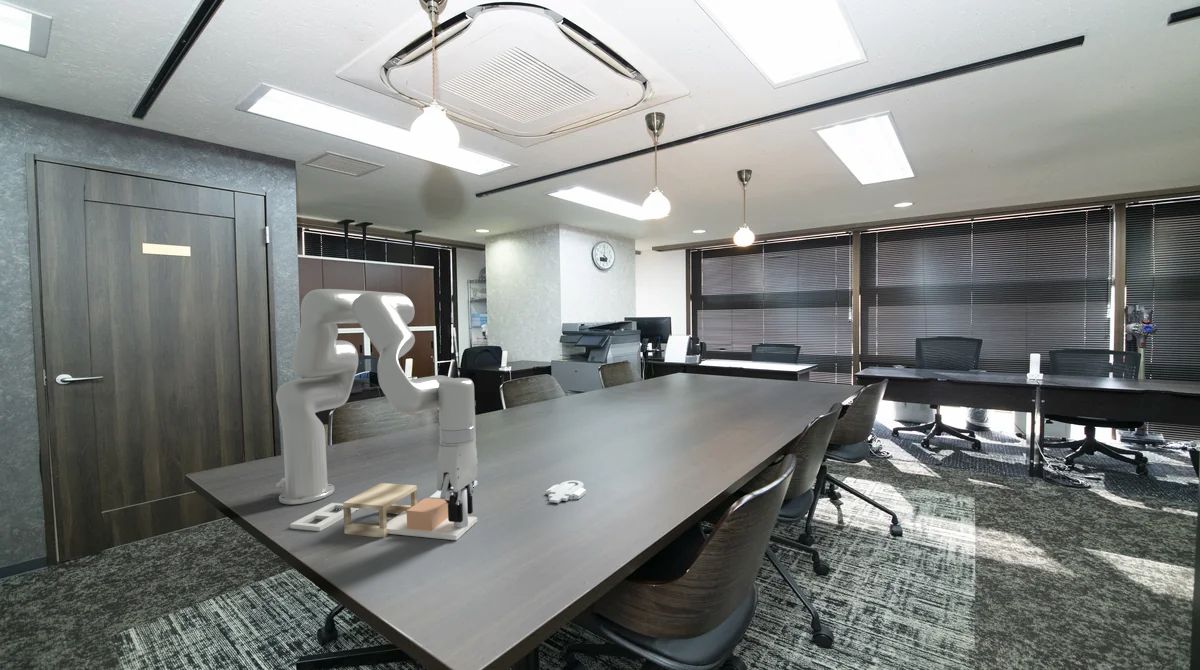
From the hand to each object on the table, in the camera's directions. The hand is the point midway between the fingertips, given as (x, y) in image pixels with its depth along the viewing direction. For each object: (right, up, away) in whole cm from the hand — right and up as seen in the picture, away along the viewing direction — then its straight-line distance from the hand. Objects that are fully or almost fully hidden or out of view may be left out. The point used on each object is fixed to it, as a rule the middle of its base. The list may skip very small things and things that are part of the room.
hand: (460, 516), depth 102 cm
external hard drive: (-9, -3, +23) cm, 25 cm away
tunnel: (-19, -3, +5) cm, 20 cm away
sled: (-8, -3, +2) cm, 9 cm away
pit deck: (-35, -4, +8) cm, 36 cm away
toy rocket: (+22, -3, +21) cm, 31 cm away
